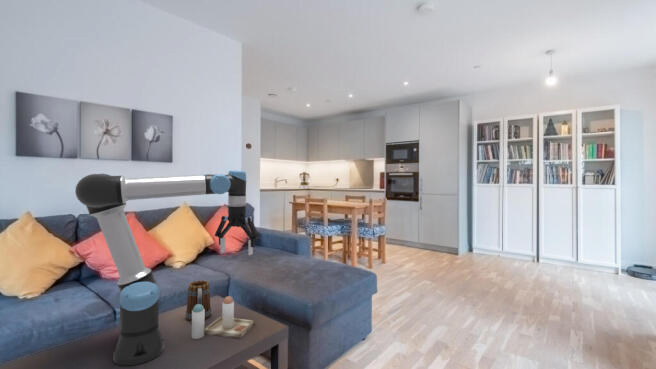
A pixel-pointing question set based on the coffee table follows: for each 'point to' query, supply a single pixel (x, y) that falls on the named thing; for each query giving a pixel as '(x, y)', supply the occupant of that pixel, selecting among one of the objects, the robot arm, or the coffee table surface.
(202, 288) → the mug
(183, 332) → the coffee table surface
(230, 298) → the tube terracotta
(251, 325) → the tray
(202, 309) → the tube teal
